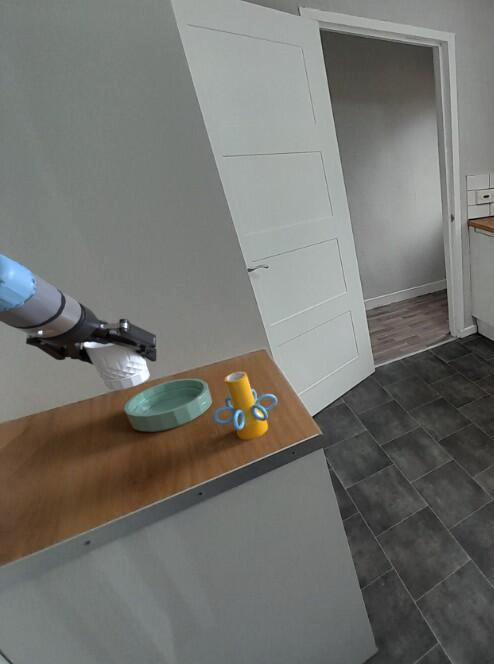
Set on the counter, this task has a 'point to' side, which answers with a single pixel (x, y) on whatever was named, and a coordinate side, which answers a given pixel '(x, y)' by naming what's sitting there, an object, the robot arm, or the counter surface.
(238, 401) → the yellow vase
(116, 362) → the white cup
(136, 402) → the green bowl
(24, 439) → the counter surface
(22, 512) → the counter surface
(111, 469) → the counter surface
